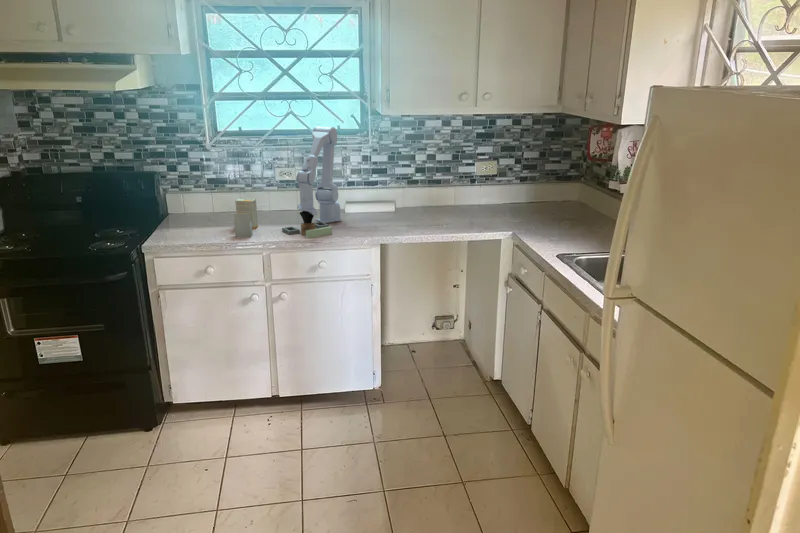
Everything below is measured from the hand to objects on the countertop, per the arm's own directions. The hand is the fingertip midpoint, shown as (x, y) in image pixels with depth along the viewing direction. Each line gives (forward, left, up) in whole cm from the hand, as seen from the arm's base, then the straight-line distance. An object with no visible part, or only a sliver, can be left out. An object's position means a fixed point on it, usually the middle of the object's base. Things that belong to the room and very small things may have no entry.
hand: (307, 227), depth 271 cm
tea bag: (+27, -8, -2) cm, 28 cm away
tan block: (+2, +4, -1) cm, 5 cm away
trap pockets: (0, +3, -1) cm, 3 cm away
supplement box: (+20, -20, -2) cm, 28 cm away
